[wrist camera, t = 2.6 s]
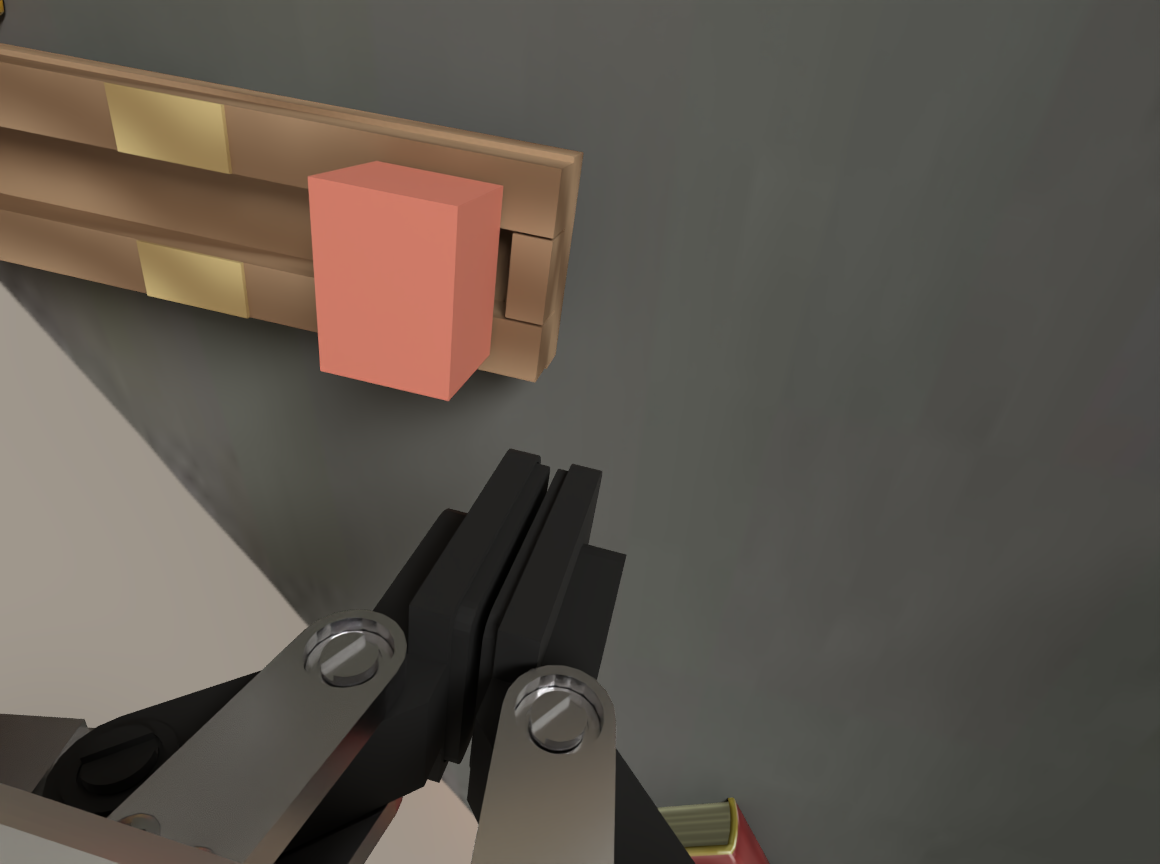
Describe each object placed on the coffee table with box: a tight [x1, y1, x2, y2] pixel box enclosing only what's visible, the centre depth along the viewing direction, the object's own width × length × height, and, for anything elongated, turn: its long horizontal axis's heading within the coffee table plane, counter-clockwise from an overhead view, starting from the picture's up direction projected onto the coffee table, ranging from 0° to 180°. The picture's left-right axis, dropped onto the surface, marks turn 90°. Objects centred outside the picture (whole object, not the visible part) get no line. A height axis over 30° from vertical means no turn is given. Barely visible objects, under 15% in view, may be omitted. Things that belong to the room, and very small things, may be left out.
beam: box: [0, 43, 583, 382], centre depth 26 cm, size 8×28×6 cm, turn 81°
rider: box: [308, 161, 503, 401], centre depth 21 cm, size 6×4×6 cm
